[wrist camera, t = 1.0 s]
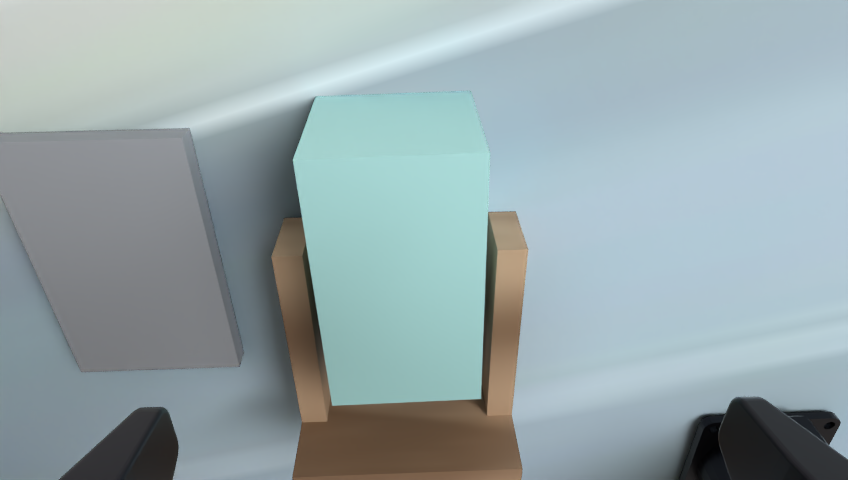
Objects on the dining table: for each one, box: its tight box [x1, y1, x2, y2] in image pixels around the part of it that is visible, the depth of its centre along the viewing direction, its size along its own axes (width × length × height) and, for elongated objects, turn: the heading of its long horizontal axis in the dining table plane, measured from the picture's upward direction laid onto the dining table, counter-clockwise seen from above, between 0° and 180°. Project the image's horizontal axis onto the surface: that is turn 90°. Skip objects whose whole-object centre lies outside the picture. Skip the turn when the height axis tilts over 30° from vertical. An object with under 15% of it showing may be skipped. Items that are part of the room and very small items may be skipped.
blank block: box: [293, 91, 490, 406], centre depth 19 cm, size 9×5×5 cm, turn 2°
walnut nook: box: [271, 212, 528, 480], centre depth 22 cm, size 9×8×5 cm
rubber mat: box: [0, 128, 244, 372], centre depth 22 cm, size 10×6×1 cm, turn 1°
